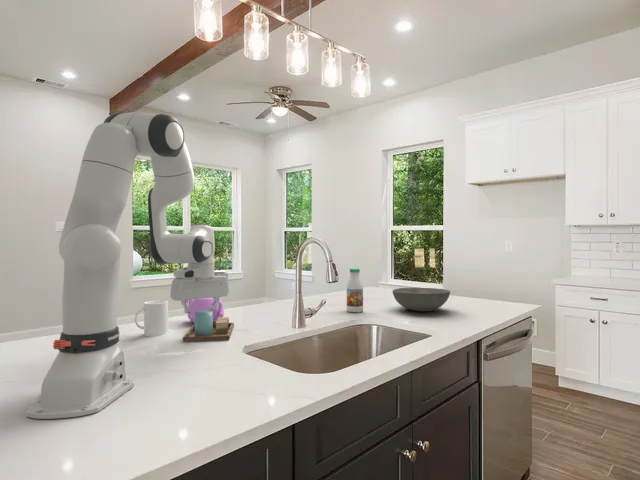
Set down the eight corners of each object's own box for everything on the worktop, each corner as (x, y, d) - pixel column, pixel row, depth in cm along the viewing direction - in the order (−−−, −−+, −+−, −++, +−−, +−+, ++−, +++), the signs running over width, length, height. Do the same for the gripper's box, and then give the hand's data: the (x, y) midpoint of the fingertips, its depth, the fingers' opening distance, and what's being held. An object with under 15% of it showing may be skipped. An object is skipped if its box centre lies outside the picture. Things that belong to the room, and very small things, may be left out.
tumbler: (207, 340, 135) (207, 313, 135) (191, 339, 136) (191, 312, 136) (215, 335, 141) (215, 310, 141) (200, 334, 142) (200, 309, 142)
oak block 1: (228, 329, 149) (228, 319, 149) (217, 330, 148) (217, 319, 148) (228, 327, 153) (228, 316, 153) (217, 328, 152) (217, 317, 152)
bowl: (389, 314, 179) (389, 292, 179) (395, 304, 204) (395, 284, 204) (450, 317, 171) (450, 294, 171) (449, 306, 196) (449, 286, 196)
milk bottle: (343, 310, 188) (343, 268, 188) (357, 309, 192) (357, 267, 191) (351, 313, 181) (351, 269, 181) (366, 311, 185) (366, 268, 184)
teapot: (173, 324, 162) (173, 293, 161) (200, 317, 174) (199, 289, 174) (210, 330, 152) (209, 297, 152) (235, 322, 164) (234, 292, 164)
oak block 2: (227, 333, 144) (227, 322, 144) (216, 334, 143) (216, 322, 143) (226, 330, 148) (226, 319, 148) (215, 331, 147) (215, 320, 147)
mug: (138, 340, 137) (137, 306, 137) (130, 336, 143) (130, 302, 143) (172, 335, 145) (172, 302, 144) (164, 330, 151) (163, 299, 151)
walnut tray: (229, 341, 135) (229, 335, 135) (183, 343, 133) (183, 337, 133) (233, 328, 155) (233, 322, 155) (193, 329, 153) (193, 324, 153)
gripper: (223, 269, 148) (223, 307, 147) (168, 272, 134) (168, 313, 134) (232, 270, 143) (231, 309, 143) (176, 273, 129) (175, 316, 129)
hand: (200, 311), depth 138 cm, fingers open, 8 cm apart
